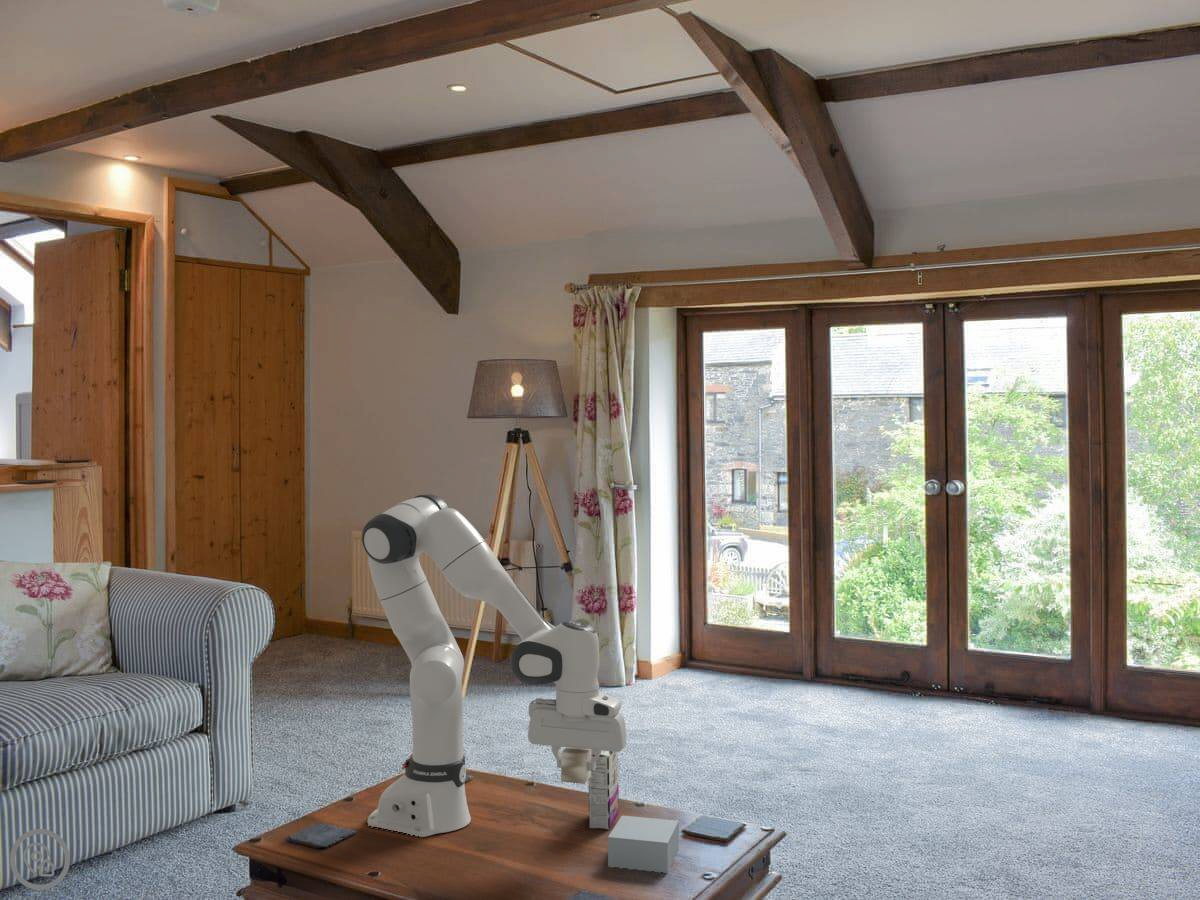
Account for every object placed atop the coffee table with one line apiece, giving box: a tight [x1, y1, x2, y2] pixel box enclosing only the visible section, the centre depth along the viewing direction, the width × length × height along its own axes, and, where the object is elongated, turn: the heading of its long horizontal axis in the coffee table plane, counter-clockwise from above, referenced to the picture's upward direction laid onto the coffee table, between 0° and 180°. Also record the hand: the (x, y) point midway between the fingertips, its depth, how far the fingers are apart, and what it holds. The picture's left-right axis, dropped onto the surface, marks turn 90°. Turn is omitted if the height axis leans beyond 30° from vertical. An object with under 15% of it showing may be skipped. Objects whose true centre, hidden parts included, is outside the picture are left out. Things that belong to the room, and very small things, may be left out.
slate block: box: [607, 815, 680, 874], centre depth 219 cm, size 12×12×6 cm
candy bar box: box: [587, 750, 620, 831], centre depth 240 cm, size 11×5×16 cm, turn 168°
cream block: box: [560, 747, 591, 785], centre depth 223 cm, size 5×5×6 cm
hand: (576, 768), depth 223 cm, fingers closed on cream block, 5 cm apart
